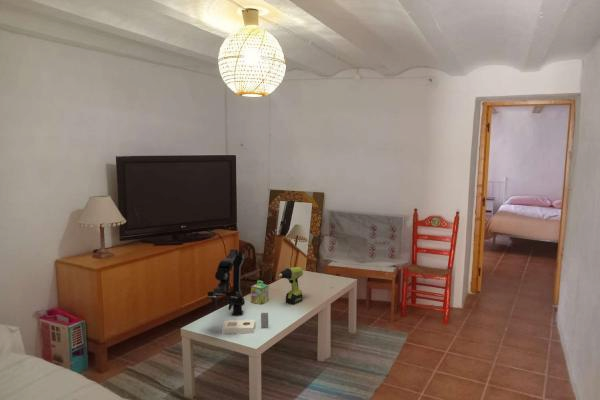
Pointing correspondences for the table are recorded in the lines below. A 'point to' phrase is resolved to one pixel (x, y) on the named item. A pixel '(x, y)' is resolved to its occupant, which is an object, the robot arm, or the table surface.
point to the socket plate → (238, 326)
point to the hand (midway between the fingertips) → (222, 309)
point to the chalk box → (259, 293)
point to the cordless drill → (293, 284)
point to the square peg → (264, 320)
